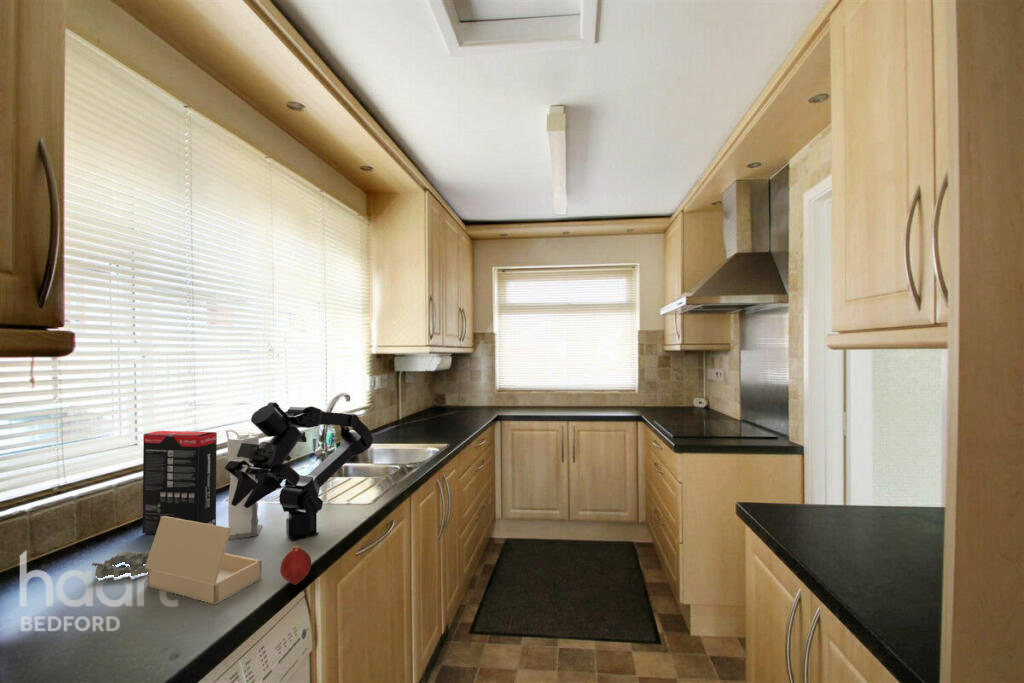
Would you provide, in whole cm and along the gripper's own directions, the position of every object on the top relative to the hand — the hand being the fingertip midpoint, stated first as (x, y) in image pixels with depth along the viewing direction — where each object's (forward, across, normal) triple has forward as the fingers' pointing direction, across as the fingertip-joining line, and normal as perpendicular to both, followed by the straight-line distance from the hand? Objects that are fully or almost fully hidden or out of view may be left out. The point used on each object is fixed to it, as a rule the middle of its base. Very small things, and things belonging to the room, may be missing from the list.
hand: (239, 506), depth 99 cm
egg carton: (+17, -21, +3) cm, 27 cm away
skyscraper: (0, -16, +20) cm, 26 cm away
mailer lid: (+11, 0, -4) cm, 12 cm away
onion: (+11, +18, +9) cm, 23 cm away
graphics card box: (+4, -33, +16) cm, 37 cm away
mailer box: (+15, 0, +4) cm, 16 cm away
